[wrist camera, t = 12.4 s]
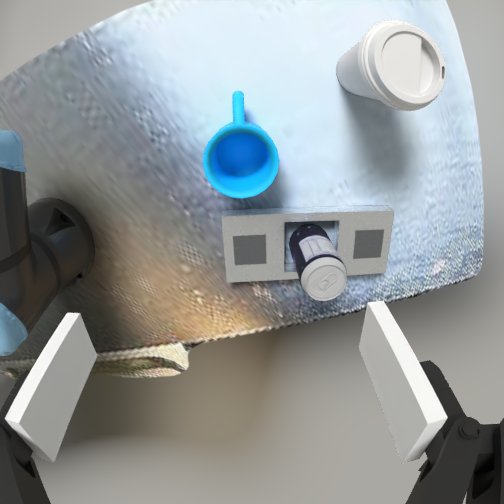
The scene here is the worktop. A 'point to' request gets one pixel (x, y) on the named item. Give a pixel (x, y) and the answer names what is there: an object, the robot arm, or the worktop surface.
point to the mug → (240, 156)
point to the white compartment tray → (272, 221)
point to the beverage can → (317, 263)
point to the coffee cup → (394, 66)
